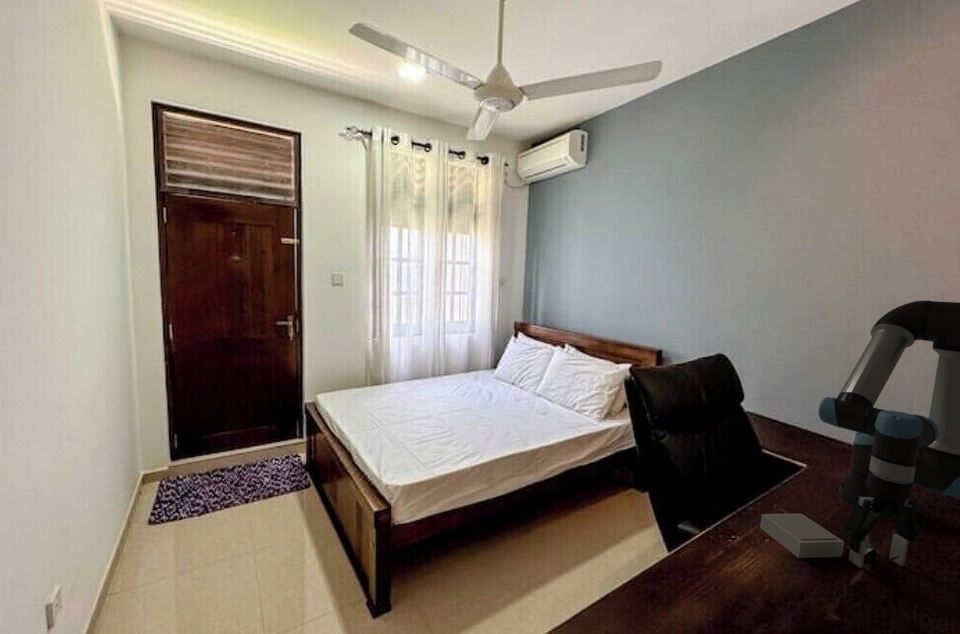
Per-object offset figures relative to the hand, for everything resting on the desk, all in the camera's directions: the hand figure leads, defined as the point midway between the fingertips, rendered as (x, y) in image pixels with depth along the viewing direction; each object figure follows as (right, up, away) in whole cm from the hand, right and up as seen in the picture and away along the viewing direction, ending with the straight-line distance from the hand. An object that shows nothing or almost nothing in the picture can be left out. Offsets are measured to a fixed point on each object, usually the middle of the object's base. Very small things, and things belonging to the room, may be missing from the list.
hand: (876, 562), depth 99 cm
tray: (-13, +1, +7) cm, 15 cm away
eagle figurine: (0, -1, +2) cm, 2 cm away
